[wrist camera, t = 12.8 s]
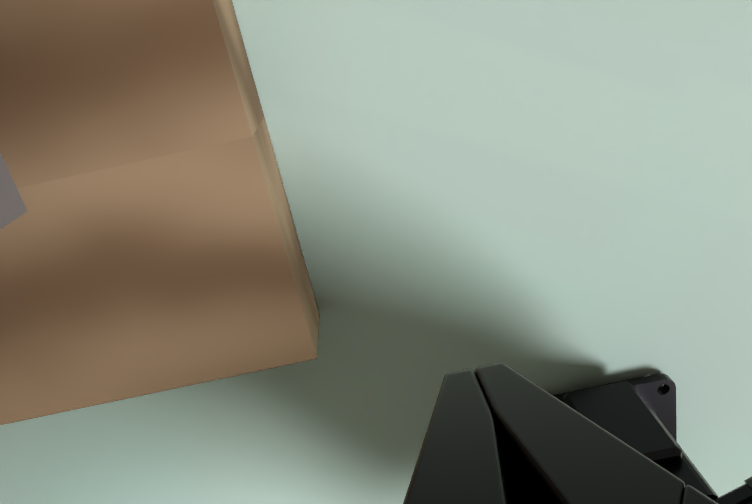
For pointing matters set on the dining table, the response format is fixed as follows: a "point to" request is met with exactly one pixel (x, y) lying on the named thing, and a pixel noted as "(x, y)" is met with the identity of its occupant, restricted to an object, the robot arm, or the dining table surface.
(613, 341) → the dining table surface
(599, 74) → the dining table surface
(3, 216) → the grey rectangular block
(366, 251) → the dining table surface
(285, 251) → the brown wooden flat slab
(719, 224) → the dining table surface
